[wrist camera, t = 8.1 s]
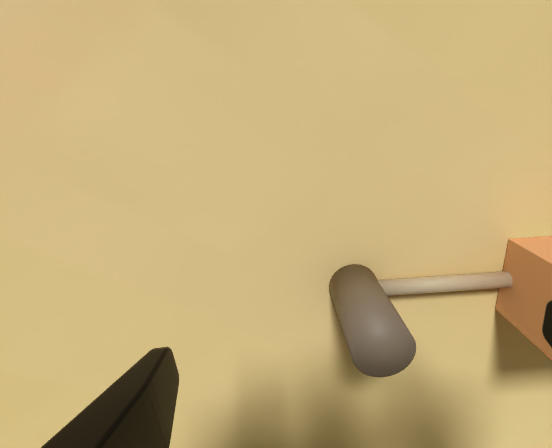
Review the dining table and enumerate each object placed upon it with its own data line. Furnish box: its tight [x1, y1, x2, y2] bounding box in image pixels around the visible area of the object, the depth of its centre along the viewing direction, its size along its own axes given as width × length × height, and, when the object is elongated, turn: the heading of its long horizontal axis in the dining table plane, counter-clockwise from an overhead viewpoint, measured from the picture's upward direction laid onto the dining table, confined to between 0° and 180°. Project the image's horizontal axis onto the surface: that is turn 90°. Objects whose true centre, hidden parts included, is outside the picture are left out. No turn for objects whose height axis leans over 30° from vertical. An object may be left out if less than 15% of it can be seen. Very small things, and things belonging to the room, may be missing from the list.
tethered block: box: [329, 236, 552, 377], centre depth 19 cm, size 16×5×6 cm, turn 93°
